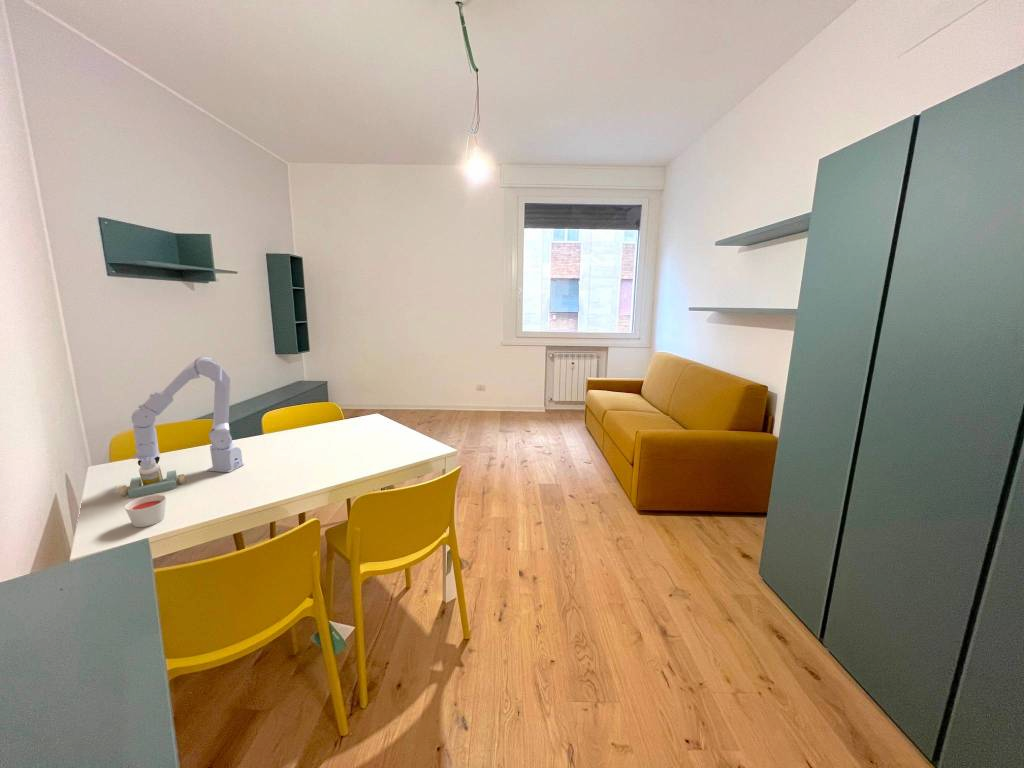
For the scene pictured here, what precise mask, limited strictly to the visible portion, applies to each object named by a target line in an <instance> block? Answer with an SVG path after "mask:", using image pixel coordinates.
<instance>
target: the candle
mask: <svg viewBox="0 0 1024 768" xmlns="http://www.w3.org/2000/svg"><path fill="white" fill-rule="evenodd" d="M166 499H167V497H166V495H163V494H152V495H151V494H150V495H145V496H141V497H140V498H136V499H134V500H131V501H129V502H128V503H126V504H125V506H124V509H125V512H126V514H127V515H128V518H129V520H130V521H131V524H132V525H133V527H135V528H146V527H149V526H153V525H156V524H158V523H160V522H161V521H163V520H164V519H165V516H166V515H165V514H166V504H167V503H166V502H167V501H166Z"/></svg>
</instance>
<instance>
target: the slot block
mask: <svg viewBox="0 0 1024 768" xmlns="http://www.w3.org/2000/svg"><path fill="white" fill-rule="evenodd" d="M165 477H166V478H165V480H163V482H158V483H154V484H149V485H144V486H143V483H142V480H141V476H138V477H132V478H131V480H130V483H129V486H128V487H127V485H121V486H119V487H118V490H119V494H120V497H125V496H128V498H129V499H133V498H137V497H143V496H148V495H151V494H155V493H160V492H165V491H171V490H173V489H177V482H178V485H183V484H185V483H186V479H185V474H184V473H183V474H181V473H180V474H177V470H176V469H175V470H170V471H166V476H165Z"/></svg>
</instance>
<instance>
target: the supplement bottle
mask: <svg viewBox="0 0 1024 768" xmlns="http://www.w3.org/2000/svg"><path fill="white" fill-rule="evenodd" d="M140 466H141V467H140ZM140 466H139V467H140V468H139V469H138V472H139V475H140V476H139V477H141V480H142V486H144V485H149V484H154V483H158V482H163V481H164V478H163V474H162V471H161V470H162V469H161V467H160V464H159V463H158V464H156V461H155V459H153V460H152V461H151V465H149V466H143V462H142V461H141V462H140Z"/></svg>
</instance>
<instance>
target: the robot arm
mask: <svg viewBox="0 0 1024 768" xmlns="http://www.w3.org/2000/svg"><path fill="white" fill-rule="evenodd" d="M200 375H201V376H203V377H206V378H208V379H210V380H211V381H213V382H214V394H213V395H214V398H213V421H212V426H211V430H210V431H209V434H208V438H209V440H210V441H211V445H210V446H209V449H210V450H209V451H210V457H211V458H210V459H211V463H212V465H211V467H209V468H207V469H206V471H208V472H219V473H220V472H222V473H230V472H233V471H235V470H236V469H238V468H240V467H243V466H244V465H245V463H244V461H243V455H242V450H241V448H239V447H237V446H235V444H233V438H232V435H231V433H230V424H229V420H230V398H231V397H230V395H231V377H230V376H229V374H228V373H227V372H226V371H225V369H224V368H223V366H222V365H221V364H220V363H218V362H217V361H215V360H214V359H212V358H211V357H210V356H205V355H204V356H199V357H198V358H196V359H195V360H194V362H191V363H189V364H188V365H187V366H186V367H185V368H184V369H183V370H182V371H181V372H179V374H178V375H177V376H176V377H175V378H174V379H172V381H171V382H170V383H169V384H168V385H167V386H166V387H165V389H163V390H157V391H155V392H151V393H150V394H149V398H148V399H147V400H146V401H145V402H144V403H143V404H139V405H138V407H137V409H135V410H134V411H133V412H132V414H131V416H130V417H131V423H132V424H133V437H134V444H135V451H136V454H134V455H132V460H135V459H137V460H138V461H137V465H138V466H139V467H140V468H141V466H140V462H141V461H142V462H143V466H149V465H151V461H152V460H153V459H155V461H156V464H158V465H159V462H160V451H159V450H160V449H159V444H158V443H159V442H158V436H157V429H156V427H155V422H156V417H157V416H159V415H161V414H162V413H163V412H164V411H165V410H166V409H167V408H168V407H169V406H170V405H171V404H172V403H173V402H174V396H175V395H176V394H177V393H178V392H179V391H180V390H181V389H182V388H183V387H185V385H186V384H188V383H189V382H190V381H191V380H196V379H199V378H201V376H200Z"/></svg>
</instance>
